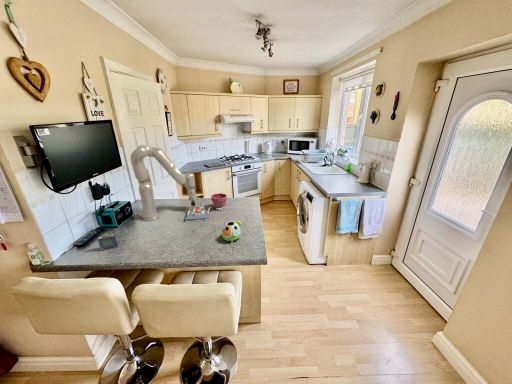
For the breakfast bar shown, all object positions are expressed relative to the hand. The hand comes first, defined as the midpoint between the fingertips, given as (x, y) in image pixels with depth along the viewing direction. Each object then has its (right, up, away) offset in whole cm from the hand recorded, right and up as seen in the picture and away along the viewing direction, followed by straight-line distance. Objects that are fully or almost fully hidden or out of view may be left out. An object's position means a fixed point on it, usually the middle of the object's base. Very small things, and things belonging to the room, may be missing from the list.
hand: (193, 206), depth 184 cm
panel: (+8, -7, -8) cm, 13 cm away
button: (+8, -4, -12) cm, 16 cm away
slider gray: (+13, -3, -4) cm, 14 cm away
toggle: (+7, -1, -1) cm, 7 cm away
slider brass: (0, -3, -5) cm, 6 cm away
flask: (-38, -24, -54) cm, 70 cm away
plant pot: (+24, -3, +5) cm, 24 cm away
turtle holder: (+41, -20, -41) cm, 62 cm away
